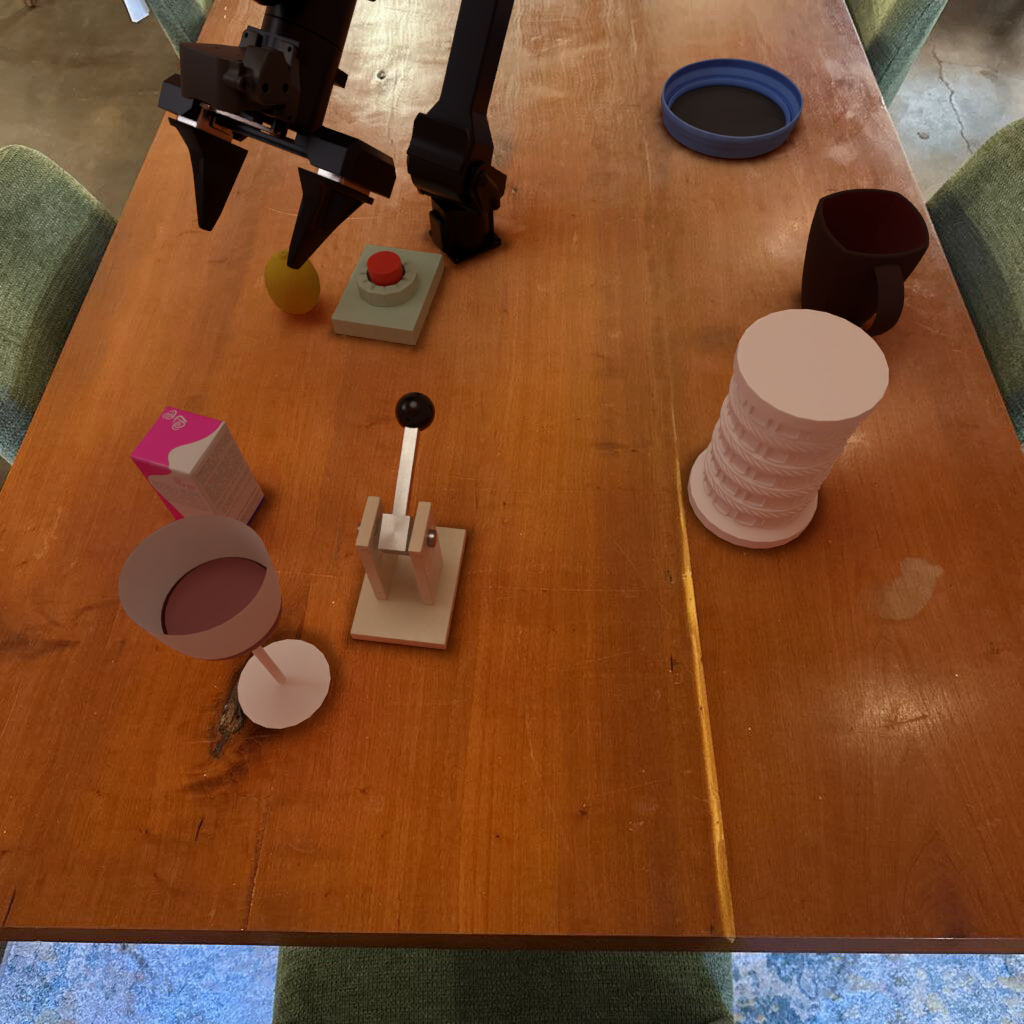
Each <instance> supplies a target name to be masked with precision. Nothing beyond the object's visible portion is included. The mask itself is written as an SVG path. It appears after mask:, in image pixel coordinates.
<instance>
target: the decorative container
mask: <svg viewBox="0 0 1024 1024" xmlns="http://www.w3.org/2000/svg"><path fill="white" fill-rule="evenodd" d="M732 370H733V374H732V376H731V379H730V382H729V385H728V386H729V387H728V393H727V395H726V396H725V398H724V400H723V401H722V405H721V408H720V413H719V418H718V419H717V422H716V423H715V425H714V427H713V431H712V435H711V440H710V442H709V444H708V445H707V447H706V448H705V449H704V450H703V451H702V452H701V453H699V455H698V456H697V458H696V459H695V461H694V463H693V465H692V467H691V469H690V473H689V475H688V476H689V477H688V482H687V488H686V489H687V495H688V501H689V504H690V506H691V509H692V510H693V512H694V515H695V516H696V518H697V519H698V520H699V521H700V523H701V524H702V525H703V526H704V528H706V529H707V530H709V532H711V533H712V534H713V535H715V536H716V537H718V538H719V539H721V540H723V541H726V542H728V543H730V544H732V545H734V546H739V547H744V548H748V549H772V548H775V547H780V546H784V545H786V544H788V543H790V542H792V541H793V540H795V539H796V538H798V537H799V536H800V535H801V534H802V533H803V532H804V531H805V530H806V528H807V527H808V526H809V525H810V523H811V521H812V520H813V517H814V515H815V513H816V510H817V508H818V499H819V490H820V489H821V485H823V483H824V481H826V480H827V479H828V476H830V474H831V470H832V469H833V467H834V463H836V462H837V460H838V459H839V458H841V455H842V453H844V451H845V447H846V446H847V445H848V440H849V439H850V438H851V437H852V436H853V434H855V433H856V431H857V428H859V427H860V423H862V422H863V421H865V420H866V419H867V418H868V417H869V416H870V415H871V414H872V413H873V412H874V411H875V410H876V409H877V407H878V406H879V404H880V403H881V401H882V399H883V398H884V396H885V394H886V391H887V389H888V387H889V383H890V368H889V366H888V361H887V359H886V356H885V353H884V352H883V351H882V349H881V348H880V346H879V345H878V343H877V342H876V341H875V340H874V339H873V337H870V336H869V335H868V334H867V333H865V332H864V331H863V330H862V329H861V328H859V327H858V326H856V325H854V324H852V323H851V322H849V321H847V320H845V319H843V318H840V317H838V316H835V315H832V314H829V313H827V312H821V311H815V310H809V309H802V308H791V309H789V308H788V309H784V310H780V311H779V310H778V311H775V312H771V313H769V314H767V315H764V316H762V317H760V318H758V319H756V320H755V321H754V322H753V323H752V324H750V325H749V326H748V327H747V328H746V329H745V331H744V332H743V334H742V336H741V338H740V339H739V341H738V344H737V346H736V350H735V353H734V357H733V363H732Z"/></svg>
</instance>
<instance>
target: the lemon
mask: <svg viewBox="0 0 1024 1024" xmlns="http://www.w3.org/2000/svg"><path fill="white" fill-rule="evenodd" d="M288 252H289V249H282V250H279V251H276V252H275V253H273V255H271V256H270V257H269V259H268V260H267V262H266V264H265V267H264V268H265V269H264V283H265V287H266V290H267V293H268V296H269V298H270V299H271V301H272V302H273V303H274V305H275V306H276V307H277V308H279V309H280V310H281V311H283V312H285V313H288V314H290V315H291V314H292V315H303V314H305V313H308V312H310V311H311V310H312V309H314V308H315V307H316V305H317V303H318V302H319V300H320V297H321V292H322V291H321V289H322V288H321V281H320V276H319V274H318V272H317V270H316V268H315V266H314V265H313V262H312V261H311V260H310V258H309V259H308V260H307V261H306V262H305V263H304V264H303V265H302V267H301V268H300V269H298V270H296V269H292V268H289V267H288V266H287V258H288Z"/></svg>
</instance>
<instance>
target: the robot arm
mask: <svg viewBox="0 0 1024 1024" xmlns="http://www.w3.org/2000/svg"><path fill="white" fill-rule="evenodd" d="M252 1H253V2H254V3H256V4H258V5H260V6H262V7H263V6H264V7H265V10H264V15H263V18H262V22H261V26H260V28H258V27H256V26H253V25H249V24H247V26H246V28H245V29H243V31H242V34H241V38H240V41H239V43H238V46H237V45H228V44H221V43H209V42H208V43H207V42H206V43H205V42H191V41H190V42H189V41H180V42H178V50H179V73H177V72H176V73H175V72H174V73H173V74H172V75H171V76H168V77H167V78H165V79H164V80H162V84H161V89H160V94H159V98H158V103H157V108H159V109H162V110H164V111H166V112H168V113H170V114H173V115H175V116H176V118H173V117H171V116H167V121H168V123H169V126H172V127H174V128H175V129H176V131H177V132H178V134H179V136H180V137H181V139H182V140H183V142H184V144H185V145H186V147H187V150H188V153H189V158H190V163H191V168H192V169H191V170H192V175H193V186H194V197H195V207H196V216H197V226H198V228H199V229H200V230H203V231H207V232H212V231H213V230H214V228H215V226H216V224H217V222H218V221H219V219H220V217H221V215H222V213H223V210H224V208H225V206H226V205H227V201H228V199H229V196H230V194H231V193H232V190H233V188H234V186H235V184H236V181H237V179H238V176H239V174H240V172H241V170H242V167H243V165H244V163H245V160H246V158H247V156H248V154H249V149H245V148H244V147H241V146H240V145H237V144H235V143H233V140H234V141H237V142H239V143H242V142H244V141H245V140H246V139H248V138H250V139H253V140H256V141H257V142H261V143H263V144H266V145H269V146H272V147H274V148H276V149H279V150H282V151H285V152H286V153H290V154H292V155H295V156H297V157H300V158H303V159H306V160H308V161H309V165H310V166H313V167H314V168H316V169H317V171H316V172H313V171H311V170H308V169H305V168H303V167H300V166H297V173H298V177H299V182H300V186H301V191H302V192H301V193H302V197H301V200H300V204H299V209H298V212H297V216H296V219H295V224H294V227H293V231H292V235H291V239H290V243H289V245H288V250H289V252H288V258H287V266H288V267H289V268H292V269H296V270H298V269H300V268H301V267H302V265H303V264H304V263H305V262H306V261H307V260H308V259H309V260H310V258H311V257H312V255H313V254H314V253H316V251H318V249H320V247H321V246H322V245H323V244H324V242H326V240H327V239H328V238H329V237H330V236H331V235H332V234H333V233H334V232H335V230H336V229H337V228H338V227H340V226H341V225H342V224H343V223H344V222H345V221H346V220H347V219H348V218H349V217H351V215H352V214H354V213H355V212H356V211H357V210H358V209H359V208H360V207H362V206H363V205H364V204H367V205H369V206H372V205H373V204H374V202H375V198H373V197H371V196H370V193H373V194H375V195H378V196H380V197H383V198H385V199H389V200H390V199H391V196H392V193H393V191H394V187H395V185H396V184H395V183H396V180H397V172H396V166H395V161H394V158H393V157H392V156H390V155H389V154H387V153H385V152H383V151H381V150H380V149H379V148H376V147H374V146H373V145H370V144H369V143H368V142H366V141H364V140H361V139H360V138H358V137H355V136H352V135H350V134H346V133H343V132H341V131H338V130H335V129H332V128H330V127H327V126H324V121H325V117H326V114H327V111H328V107H329V103H330V99H331V96H332V93H333V89H334V86H335V87H338V88H341V89H343V90H344V89H346V86H347V82H348V79H349V74H348V73H347V72H345V71H344V70H342V69H340V68H339V67H340V64H341V60H342V57H343V52H344V49H345V45H346V42H347V38H348V35H349V31H350V28H351V23H352V20H353V17H354V13H355V10H356V6H357V3H358V0H252ZM367 1H369V2H372V3H375V2H376V1H377V0H367ZM514 5H515V0H461V1H460V5H459V9H458V15H457V18H456V23H455V28H454V32H453V36H452V41H451V45H450V49H449V50H450V51H449V53H448V54H449V55H448V60H447V64H446V69H445V72H444V78H443V82H442V85H441V92H440V95H439V98H438V100H437V101H436V103H434V105H433V106H431V108H430V109H429V110H428V111H427V112H426V113H424V112H421V111H420V112H418V113H417V115H416V116H415V118H414V120H413V123H412V124H413V125H412V126H413V127H412V133H411V136H410V137H411V138H410V142H409V145H408V147H407V149H406V152H405V153H406V171H407V175H409V176H410V179H411V183H412V184H413V186H414V187H415V188H416V190H417V192H418V194H420V195H422V196H424V195H425V196H428V197H429V198H430V202H431V203H430V204H431V210H430V211H429V212H428V217H429V226H430V229H429V231H428V235H429V238H431V241H432V243H434V245H435V246H436V247H437V248H438V249H439V250H440V252H441V253H443V254H444V255H446V257H447V258H448V259H449V260H450V261H451V262H452V263H453V264H454V265H460V264H462V263H465V262H467V261H469V260H471V259H473V258H476V257H478V256H480V255H483V254H485V253H487V252H490V251H491V250H495V249H496V248H499V247H501V246H502V245H503V240H502V239H501V237H500V236H499V235H498V234H497V233H496V232H495V215H494V213H495V211H498V210H499V209H500V208H501V207H502V206H501V204H502V203H501V199H502V198H503V197H504V196H505V192H506V187H507V186H506V185H507V178H508V176H507V174H506V173H503V172H502V171H500V170H499V169H498V168H496V167H494V166H492V161H493V155H494V150H495V145H494V141H493V137H492V133H491V132H492V131H491V128H490V124H489V120H488V119H489V118H488V116H487V115H488V110H489V106H490V102H491V97H492V94H493V89H494V86H495V81H496V77H497V73H498V69H499V65H500V61H501V57H502V53H503V48H504V45H505V41H506V37H507V33H508V29H509V25H510V21H511V16H512V12H513V8H514ZM263 124H265V125H263ZM266 125H268V126H266ZM269 126H270V127H269ZM288 131H291V132H294V133H296V134H295V139H294V138H291V137H289V136H287V135H288Z"/></svg>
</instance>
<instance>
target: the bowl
mask: <svg viewBox="0 0 1024 1024" xmlns="http://www.w3.org/2000/svg"><path fill="white" fill-rule="evenodd" d="M804 103H805V102H804V96H803V93H802V91H801V89H800V88H799V86H798V85H797V84H796V83H795V82H794V81H793V80H792V79H791V78H790V77H788V76H787V75H785V74H784V73H783V72H781V71H779V70H777V69H776V68H774V67H771V66H769V65H766V64H763V63H761V62H758V61H753V60H749V59H743V58H733V57H719V58H709V59H703V60H699V61H694V62H692V63H688V64H686V65H684V66H681V67H679V68H678V69H676V70H675V71H674V72H673V73H671V74H670V75H669V76H668V78H666V80H665V82H664V84H663V87H662V91H661V94H660V106H661V111H662V121H663V124H664V127H665V128H666V130H667V132H668V133H669V134H670V136H671V137H673V138H674V139H675V140H676V141H677V142H678V143H680V144H681V145H683V146H684V147H686V148H688V149H690V150H693V151H694V152H698V153H700V154H702V155H707V156H710V157H715V158H721V159H748V158H753V157H759V156H762V155H765V154H768V153H770V152H772V151H773V150H776V149H777V148H779V147H780V146H781V145H783V144H784V143H785V142H786V141H787V139H788V138H789V137H790V135H791V133H792V131H793V130H794V129H795V127H796V125H797V124H798V122H799V120H800V118H801V117H802V114H803V113H802V112H803V109H804Z"/></svg>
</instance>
